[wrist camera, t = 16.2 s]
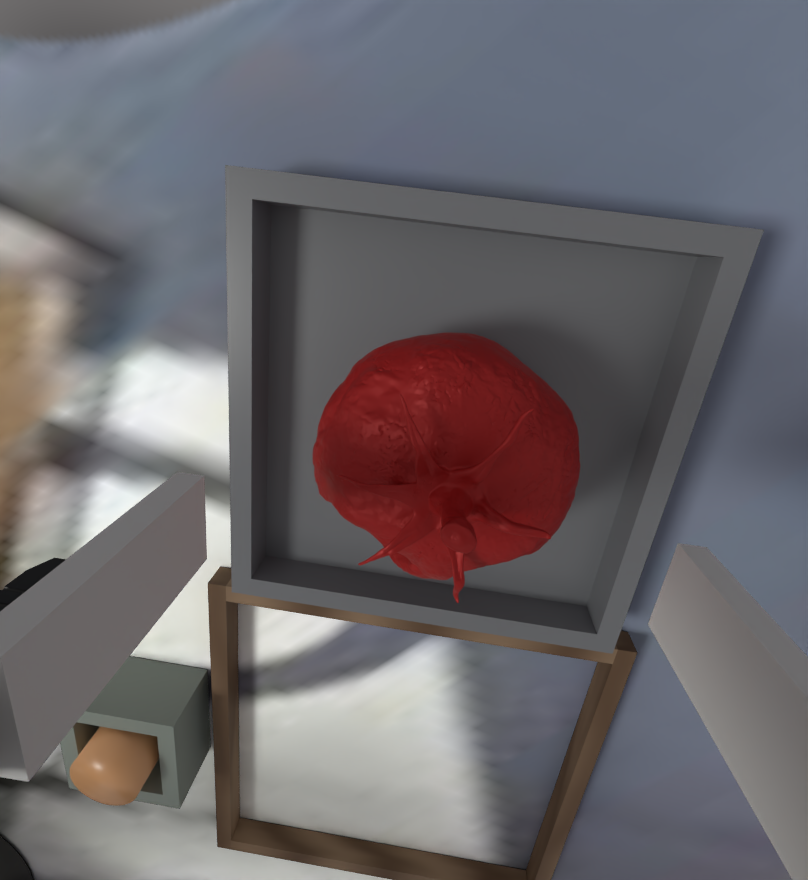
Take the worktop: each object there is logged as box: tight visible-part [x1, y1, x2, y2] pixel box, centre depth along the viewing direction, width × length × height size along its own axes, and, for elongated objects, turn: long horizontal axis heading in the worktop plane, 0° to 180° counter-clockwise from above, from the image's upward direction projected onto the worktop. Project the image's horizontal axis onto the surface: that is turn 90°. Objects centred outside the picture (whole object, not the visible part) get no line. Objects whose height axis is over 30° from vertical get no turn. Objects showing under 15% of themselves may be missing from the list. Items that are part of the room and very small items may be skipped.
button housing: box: [60, 656, 211, 809], centre depth 30 cm, size 7×7×4 cm
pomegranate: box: [313, 332, 580, 603], centre depth 18 cm, size 10×10×9 cm
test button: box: [70, 726, 159, 806], centre depth 29 cm, size 4×4×4 cm
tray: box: [225, 165, 764, 654], centre depth 22 cm, size 19×19×3 cm
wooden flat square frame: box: [208, 567, 637, 880], centre depth 31 cm, size 23×23×2 cm
